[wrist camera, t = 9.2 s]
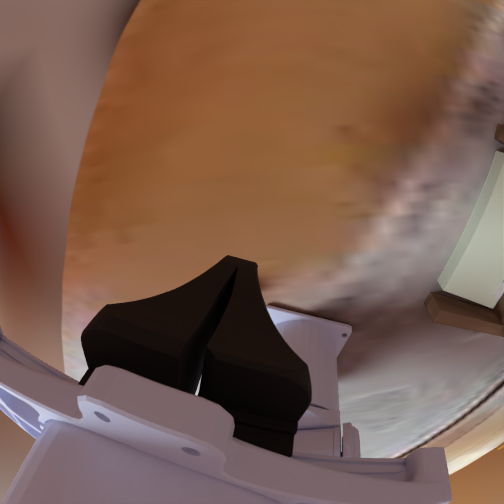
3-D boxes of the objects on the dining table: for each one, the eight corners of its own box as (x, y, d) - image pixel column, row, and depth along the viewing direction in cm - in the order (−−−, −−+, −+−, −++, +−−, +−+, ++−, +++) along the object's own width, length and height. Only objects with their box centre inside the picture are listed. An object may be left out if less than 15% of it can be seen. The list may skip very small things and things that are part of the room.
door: (484, 296, 22) (494, 310, 20) (435, 277, 22) (444, 292, 20) (538, 186, 16) (553, 193, 14) (492, 149, 16) (508, 154, 14)
